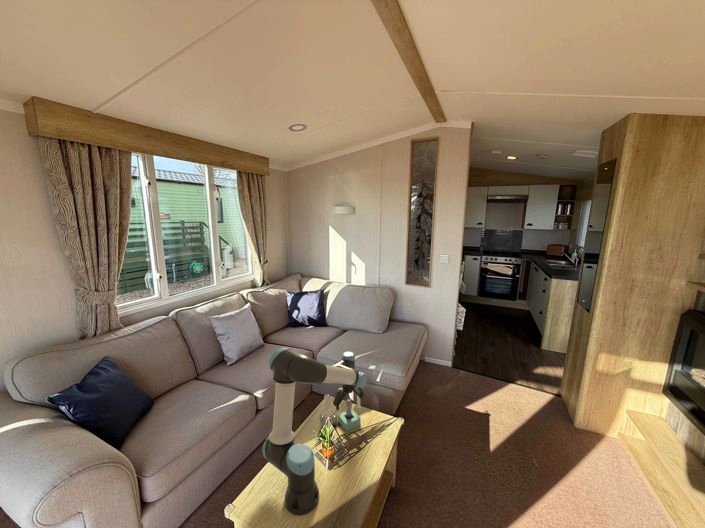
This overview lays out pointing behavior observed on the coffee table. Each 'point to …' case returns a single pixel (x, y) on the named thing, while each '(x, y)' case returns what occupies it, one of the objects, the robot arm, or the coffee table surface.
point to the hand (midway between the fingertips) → (349, 410)
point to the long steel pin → (348, 409)
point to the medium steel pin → (322, 421)
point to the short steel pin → (334, 419)
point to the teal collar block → (349, 421)
